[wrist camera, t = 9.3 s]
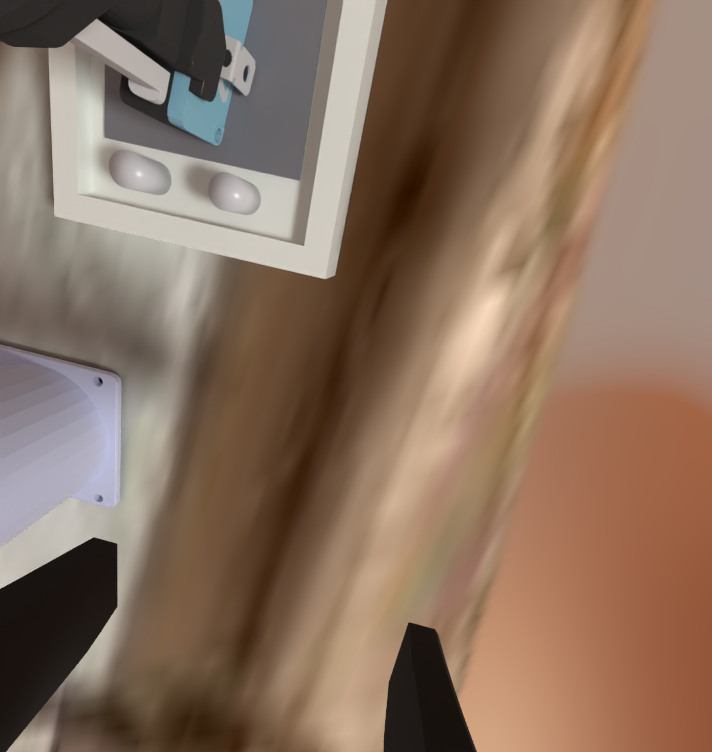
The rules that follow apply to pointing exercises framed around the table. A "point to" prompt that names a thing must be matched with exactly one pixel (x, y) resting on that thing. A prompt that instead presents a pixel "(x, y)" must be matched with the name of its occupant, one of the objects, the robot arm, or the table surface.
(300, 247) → the pin tray
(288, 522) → the table surface
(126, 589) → the table surface
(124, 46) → the push button
